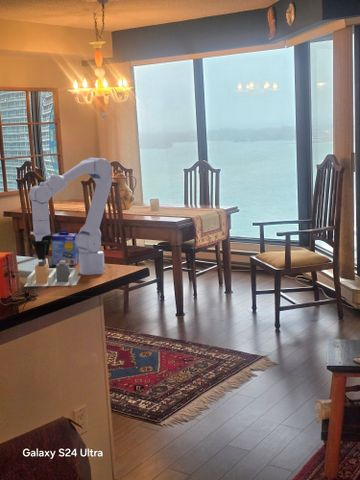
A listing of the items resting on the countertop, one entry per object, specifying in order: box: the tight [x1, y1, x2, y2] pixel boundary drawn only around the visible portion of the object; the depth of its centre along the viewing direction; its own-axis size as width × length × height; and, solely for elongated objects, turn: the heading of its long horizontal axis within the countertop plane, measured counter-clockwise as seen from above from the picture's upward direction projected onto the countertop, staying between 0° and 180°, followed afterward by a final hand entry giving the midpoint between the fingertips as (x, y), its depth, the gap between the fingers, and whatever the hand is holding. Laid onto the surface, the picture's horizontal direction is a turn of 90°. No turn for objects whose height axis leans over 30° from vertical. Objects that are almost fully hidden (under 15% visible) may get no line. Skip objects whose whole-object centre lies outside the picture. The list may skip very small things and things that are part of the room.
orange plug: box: [34, 260, 50, 283], centre depth 227 cm, size 4×4×7 cm
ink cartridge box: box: [51, 229, 79, 266], centre depth 259 cm, size 10×6×14 cm, turn 87°
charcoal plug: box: [55, 260, 70, 282], centre depth 228 cm, size 4×4×7 cm
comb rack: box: [23, 267, 82, 287], centre depth 228 cm, size 18×14×4 cm
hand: (43, 257), depth 228 cm, fingers open, 7 cm apart
